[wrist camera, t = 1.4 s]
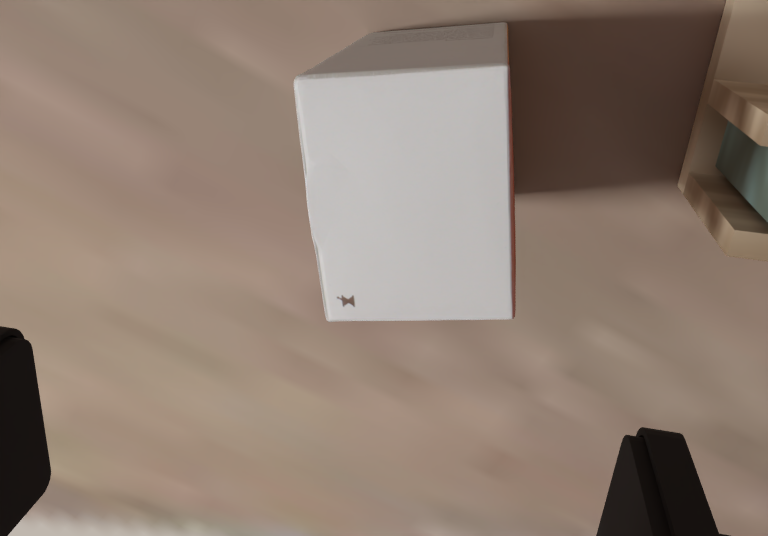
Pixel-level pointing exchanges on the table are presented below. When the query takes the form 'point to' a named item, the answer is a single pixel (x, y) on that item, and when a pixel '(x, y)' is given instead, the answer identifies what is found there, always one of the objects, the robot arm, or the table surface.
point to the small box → (412, 175)
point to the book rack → (733, 135)
